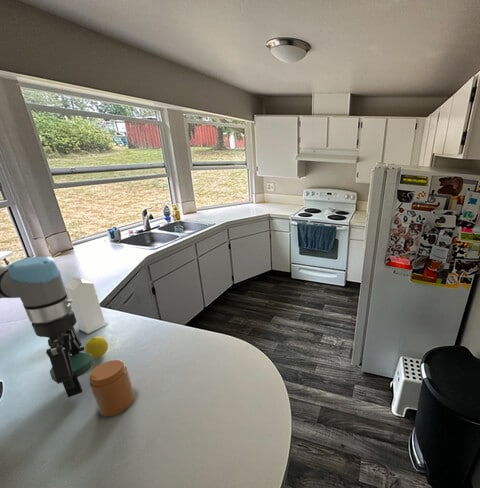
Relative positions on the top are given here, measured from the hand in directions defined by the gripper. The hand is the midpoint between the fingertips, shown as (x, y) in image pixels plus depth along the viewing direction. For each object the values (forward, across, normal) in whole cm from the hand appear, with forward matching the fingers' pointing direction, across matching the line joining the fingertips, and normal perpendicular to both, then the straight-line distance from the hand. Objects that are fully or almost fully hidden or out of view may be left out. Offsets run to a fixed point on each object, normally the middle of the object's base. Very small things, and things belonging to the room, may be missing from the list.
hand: (78, 382), depth 72 cm
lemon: (+3, +13, -3) cm, 14 cm away
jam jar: (+3, -11, -9) cm, 14 cm away
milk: (+3, +34, +1) cm, 34 cm away
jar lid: (-7, 0, 0) cm, 7 cm away
